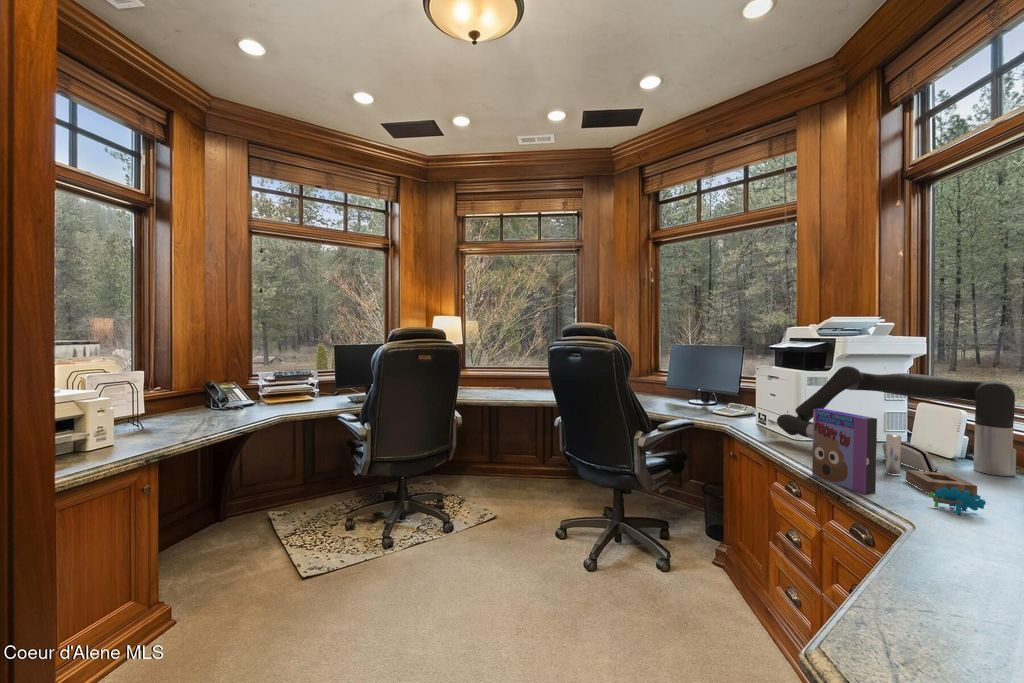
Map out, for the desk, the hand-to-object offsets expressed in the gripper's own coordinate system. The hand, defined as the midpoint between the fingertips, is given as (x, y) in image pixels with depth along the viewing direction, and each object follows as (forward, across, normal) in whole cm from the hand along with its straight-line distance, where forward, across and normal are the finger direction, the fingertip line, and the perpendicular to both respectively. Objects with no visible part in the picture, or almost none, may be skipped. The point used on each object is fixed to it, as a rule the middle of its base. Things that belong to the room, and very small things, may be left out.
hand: (861, 443), depth 163 cm
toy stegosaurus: (+40, -17, +8) cm, 44 cm away
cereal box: (+16, -28, +8) cm, 33 cm away
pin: (+11, 0, +8) cm, 14 cm away
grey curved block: (+5, +16, +9) cm, 19 cm away
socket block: (+26, -2, +8) cm, 28 cm away
